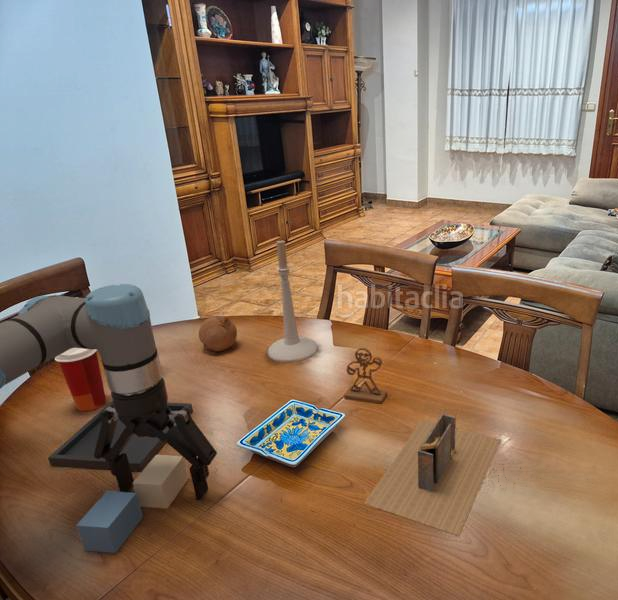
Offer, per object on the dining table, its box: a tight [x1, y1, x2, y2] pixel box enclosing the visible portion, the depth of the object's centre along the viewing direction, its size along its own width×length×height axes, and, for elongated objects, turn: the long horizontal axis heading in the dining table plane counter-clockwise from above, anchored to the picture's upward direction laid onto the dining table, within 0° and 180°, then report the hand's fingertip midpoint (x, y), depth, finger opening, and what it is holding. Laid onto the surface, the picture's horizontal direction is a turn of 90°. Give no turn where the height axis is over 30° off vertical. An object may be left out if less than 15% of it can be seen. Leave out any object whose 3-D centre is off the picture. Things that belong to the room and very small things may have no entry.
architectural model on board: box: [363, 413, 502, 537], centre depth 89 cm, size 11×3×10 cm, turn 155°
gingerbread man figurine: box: [343, 347, 388, 405], centre depth 111 cm, size 9×4×12 cm, turn 73°
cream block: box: [132, 454, 189, 510], centre depth 86 cm, size 5×7×5 cm
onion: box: [198, 315, 238, 353], centre depth 135 cm, size 10×9×10 cm
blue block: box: [76, 490, 144, 554], centre depth 78 cm, size 5×7×5 cm
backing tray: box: [47, 400, 194, 472], centre depth 101 cm, size 18×19×2 cm
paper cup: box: [54, 348, 107, 412], centre depth 110 cm, size 8×8×14 cm
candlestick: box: [267, 239, 319, 363], centre depth 128 cm, size 13×13×30 cm
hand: (165, 491), depth 87 cm, fingers open, 13 cm apart
